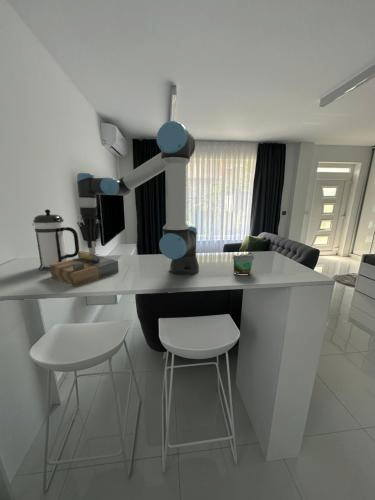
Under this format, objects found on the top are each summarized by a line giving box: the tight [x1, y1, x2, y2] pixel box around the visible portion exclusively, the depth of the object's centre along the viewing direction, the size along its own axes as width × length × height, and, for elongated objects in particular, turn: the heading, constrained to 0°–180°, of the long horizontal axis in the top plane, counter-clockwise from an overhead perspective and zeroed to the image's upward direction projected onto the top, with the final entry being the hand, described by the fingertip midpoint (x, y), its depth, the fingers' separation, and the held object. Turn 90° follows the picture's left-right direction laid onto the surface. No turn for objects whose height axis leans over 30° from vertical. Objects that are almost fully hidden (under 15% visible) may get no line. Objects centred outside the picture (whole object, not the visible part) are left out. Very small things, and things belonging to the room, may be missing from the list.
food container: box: [232, 251, 255, 275], centre depth 105 cm, size 12×6×10 cm, turn 123°
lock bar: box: [77, 250, 100, 263], centre depth 103 cm, size 15×4×3 cm, turn 56°
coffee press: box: [31, 209, 80, 271], centre depth 109 cm, size 17×16×30 cm
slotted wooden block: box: [49, 255, 120, 287], centre depth 101 cm, size 20×22×9 cm
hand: (92, 253), depth 109 cm, fingers closed
